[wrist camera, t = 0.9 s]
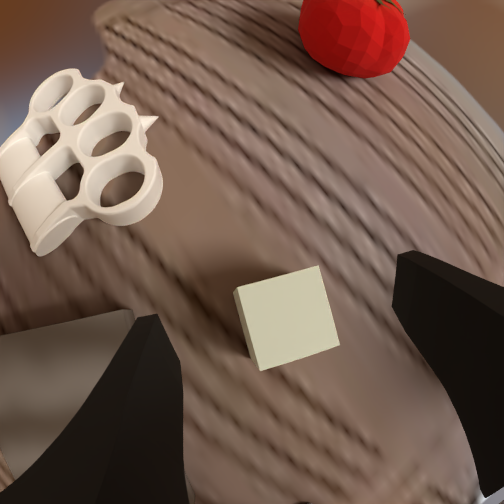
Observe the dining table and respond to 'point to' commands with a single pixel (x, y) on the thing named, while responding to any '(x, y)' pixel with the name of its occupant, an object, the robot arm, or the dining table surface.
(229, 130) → the dining table surface
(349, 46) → the tomato
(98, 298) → the dining table surface
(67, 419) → the taupe base
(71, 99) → the white brass knuckles
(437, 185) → the dining table surface
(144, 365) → the robot arm
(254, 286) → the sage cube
